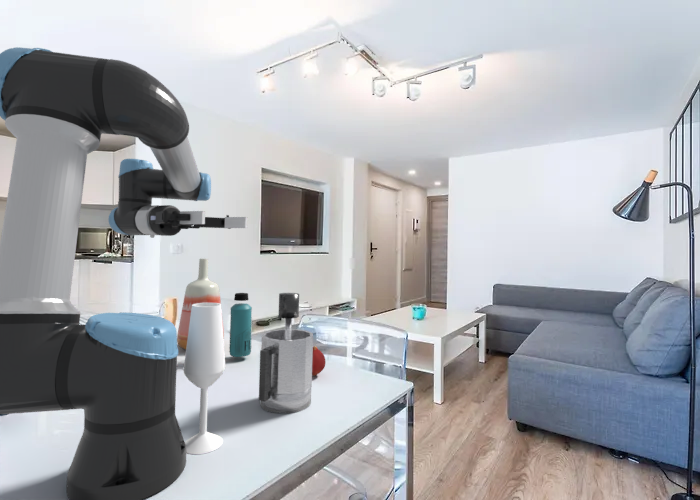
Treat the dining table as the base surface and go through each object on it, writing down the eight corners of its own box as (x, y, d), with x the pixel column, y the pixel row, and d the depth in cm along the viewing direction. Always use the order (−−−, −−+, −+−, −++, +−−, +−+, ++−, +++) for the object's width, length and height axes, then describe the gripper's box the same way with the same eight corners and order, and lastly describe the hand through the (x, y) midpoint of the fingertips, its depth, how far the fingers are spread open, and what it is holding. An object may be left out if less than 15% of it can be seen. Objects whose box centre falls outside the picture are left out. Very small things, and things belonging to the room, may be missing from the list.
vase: (213, 340, 133) (215, 257, 133) (231, 349, 122) (233, 259, 122) (170, 346, 123) (173, 257, 123) (185, 356, 112) (188, 259, 112)
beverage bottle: (244, 362, 108) (246, 294, 108) (224, 360, 110) (226, 293, 110) (254, 356, 115) (256, 292, 115) (235, 354, 116) (237, 291, 116)
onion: (307, 371, 103) (308, 342, 103) (327, 373, 102) (328, 344, 102) (300, 378, 97) (301, 347, 97) (321, 380, 96) (322, 349, 96)
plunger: (292, 391, 76) (294, 297, 76) (260, 384, 80) (263, 294, 80) (311, 379, 84) (314, 293, 84) (281, 373, 87) (284, 290, 87)
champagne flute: (181, 437, 65) (185, 302, 65) (221, 431, 68) (225, 301, 68) (181, 457, 59) (185, 308, 59) (225, 449, 62) (229, 307, 62)
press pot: (284, 424, 71) (286, 347, 71) (239, 412, 76) (241, 339, 76) (319, 398, 85) (321, 332, 84) (279, 389, 89) (281, 327, 89)
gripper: (199, 237, 104) (260, 238, 95) (110, 233, 81) (180, 234, 73) (199, 210, 104) (261, 209, 95) (111, 198, 81) (182, 195, 73)
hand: (226, 220), depth 84 cm, fingers open, 13 cm apart
